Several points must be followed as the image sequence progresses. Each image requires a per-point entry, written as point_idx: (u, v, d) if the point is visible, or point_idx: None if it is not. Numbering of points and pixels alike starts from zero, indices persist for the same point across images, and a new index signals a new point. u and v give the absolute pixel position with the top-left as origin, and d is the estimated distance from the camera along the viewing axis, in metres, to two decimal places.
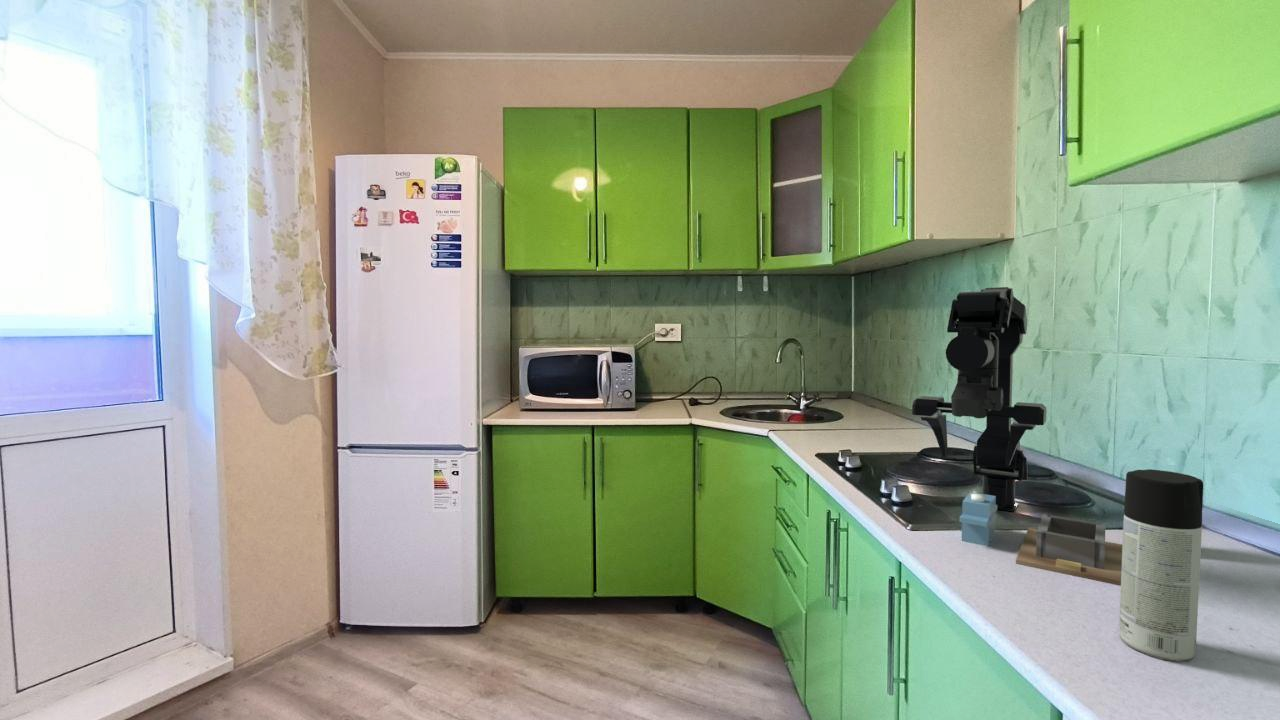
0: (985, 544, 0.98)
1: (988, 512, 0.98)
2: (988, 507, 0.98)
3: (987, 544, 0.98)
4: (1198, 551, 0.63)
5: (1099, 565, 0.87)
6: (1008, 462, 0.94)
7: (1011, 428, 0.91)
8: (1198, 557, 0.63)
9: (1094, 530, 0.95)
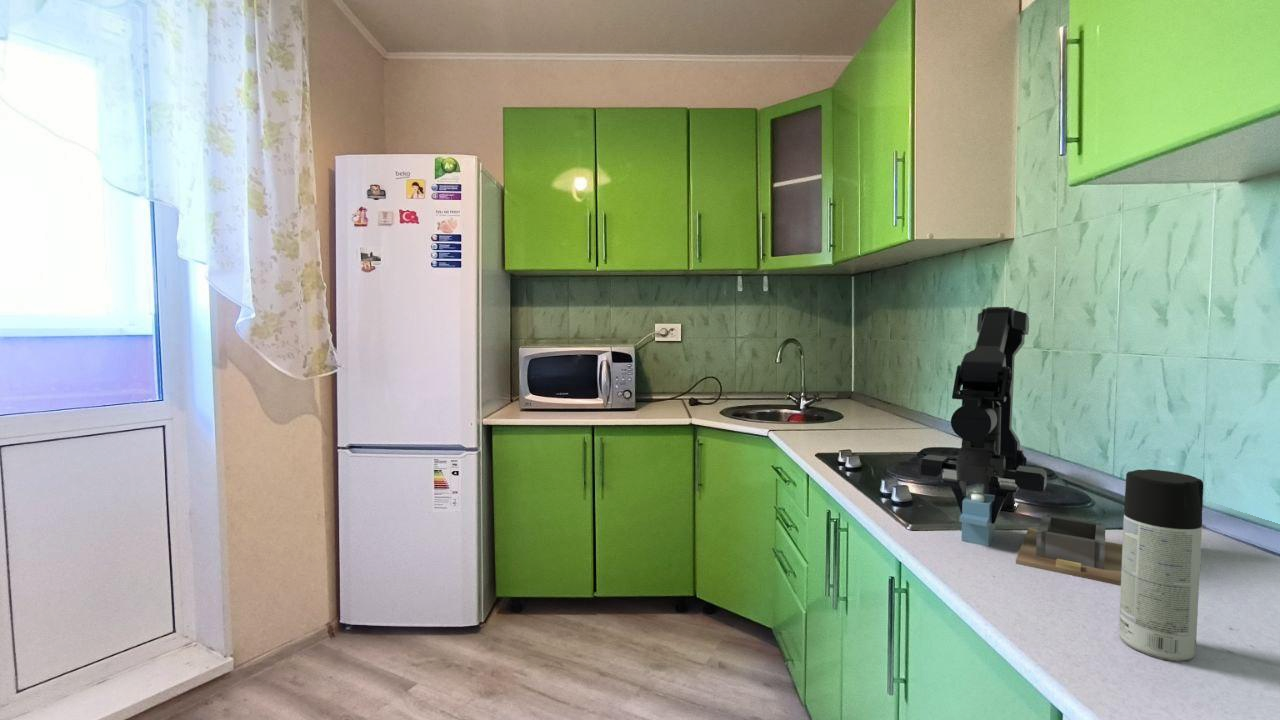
0: (985, 544, 0.98)
1: (988, 512, 0.98)
2: (988, 507, 0.98)
3: (987, 544, 0.98)
4: (1198, 551, 0.63)
5: (1099, 565, 0.87)
6: (993, 520, 1.00)
7: (996, 490, 0.97)
8: (1198, 557, 0.63)
9: (1094, 530, 0.95)
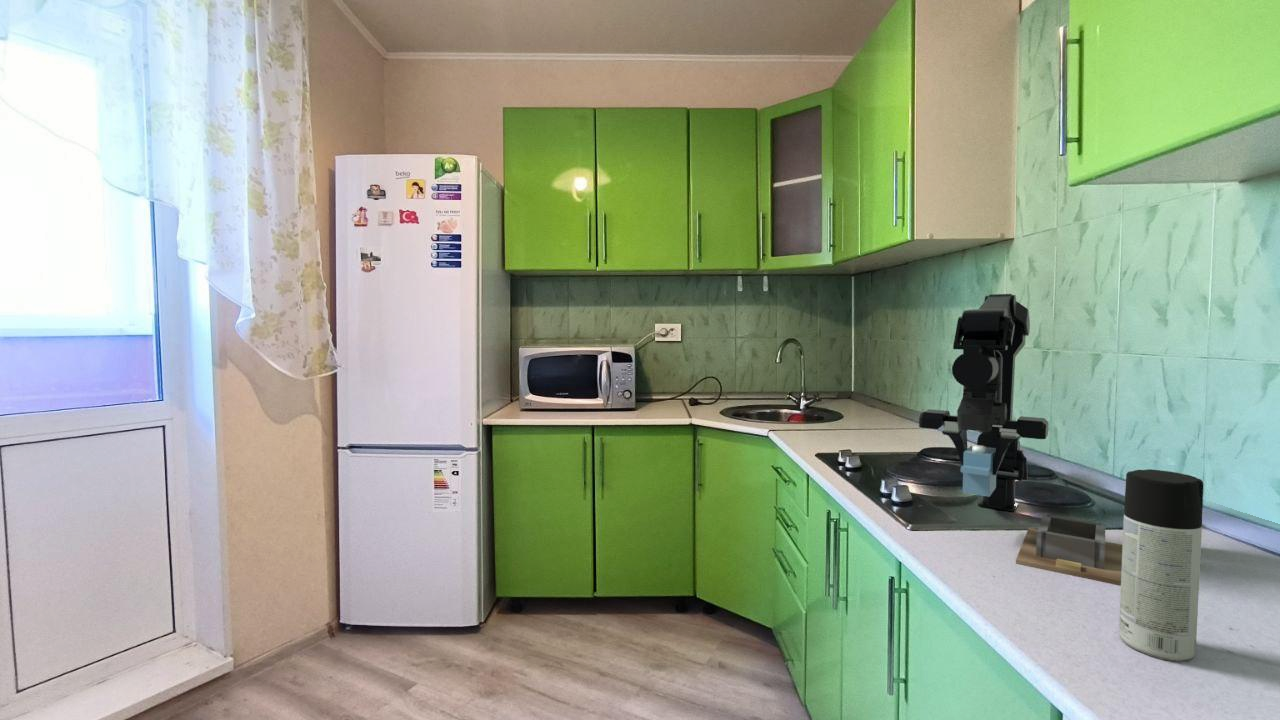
0: (986, 494, 0.97)
1: (989, 462, 0.97)
2: (989, 457, 0.97)
3: (988, 494, 0.97)
4: (1198, 551, 0.63)
5: (1099, 565, 0.87)
6: (995, 472, 0.99)
7: (997, 440, 0.97)
8: (1198, 557, 0.63)
9: (1094, 530, 0.95)
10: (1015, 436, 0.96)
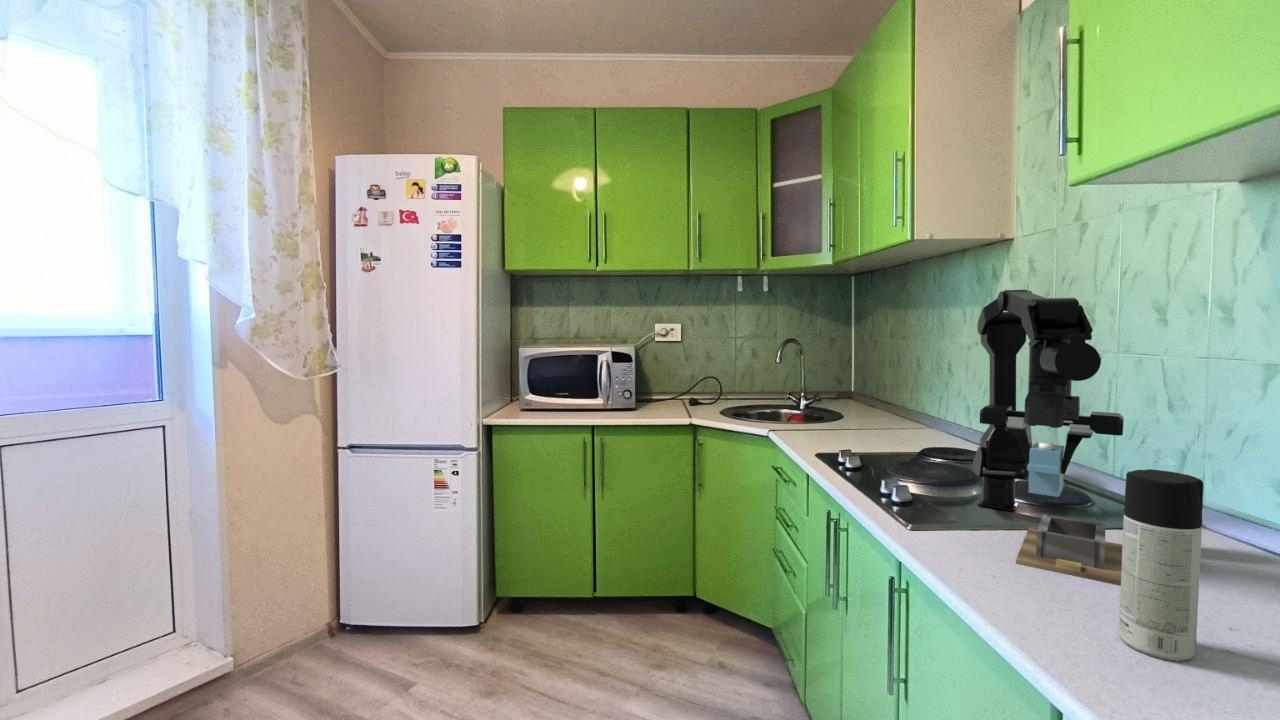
0: (1055, 494, 0.91)
1: (1059, 460, 0.91)
2: (1059, 454, 0.91)
3: (1057, 494, 0.91)
4: (1198, 551, 0.63)
5: (1099, 565, 0.87)
6: (1064, 470, 0.93)
7: (1068, 436, 0.91)
8: (1198, 557, 0.63)
9: (1094, 530, 0.95)
10: (1087, 432, 0.90)
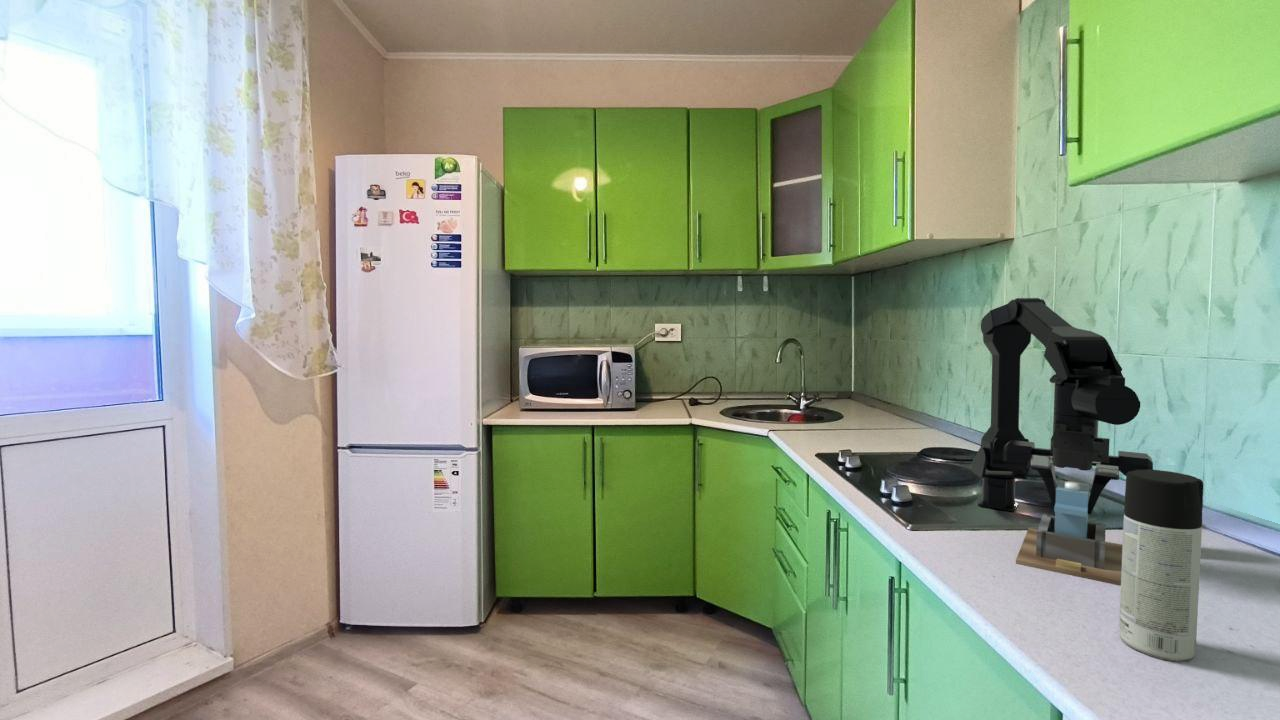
0: (1083, 536, 0.90)
1: (1086, 501, 0.89)
2: (1086, 496, 0.89)
3: (1085, 536, 0.90)
4: (1198, 551, 0.63)
5: (1099, 565, 0.87)
6: (1090, 511, 0.91)
7: (1095, 477, 0.89)
8: (1198, 557, 0.63)
9: (1094, 530, 0.95)
10: (1115, 473, 0.88)
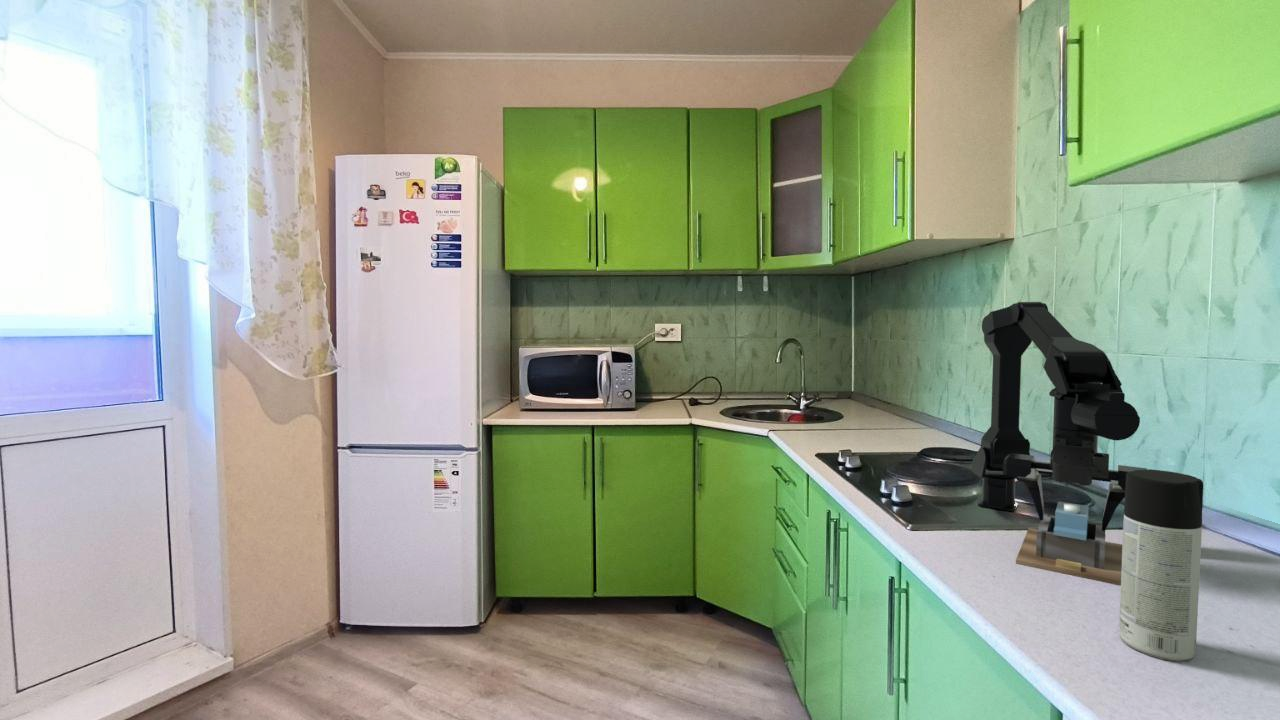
0: None
1: (1086, 524, 0.89)
2: (1086, 519, 0.89)
3: None
4: (1198, 551, 0.63)
5: (1099, 565, 0.87)
6: (1104, 527, 0.90)
7: (1110, 494, 0.88)
8: (1198, 557, 0.63)
9: (1094, 530, 0.95)
10: None
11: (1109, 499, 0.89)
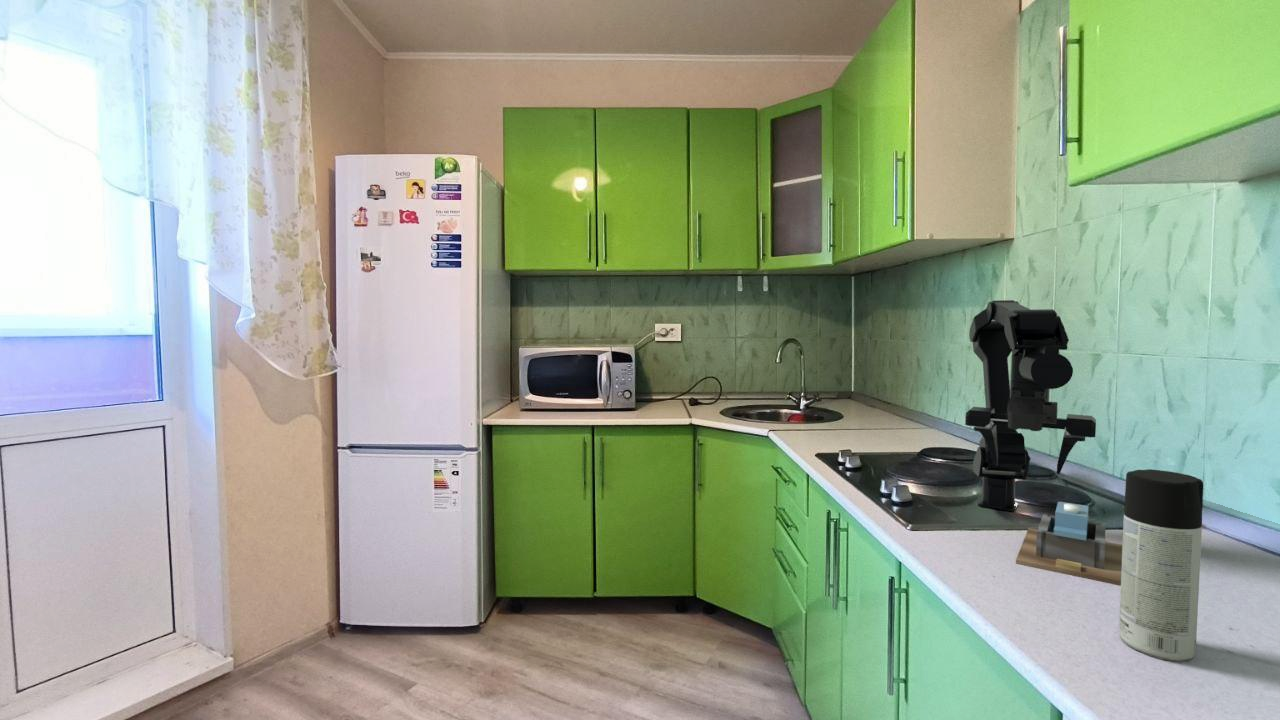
0: None
1: (1086, 524, 0.89)
2: (1086, 519, 0.89)
3: None
4: (1198, 551, 0.63)
5: (1099, 565, 0.87)
6: (1059, 471, 0.99)
7: (1063, 439, 0.97)
8: (1198, 557, 0.63)
9: (1094, 530, 0.95)
10: None
11: (1063, 444, 0.98)
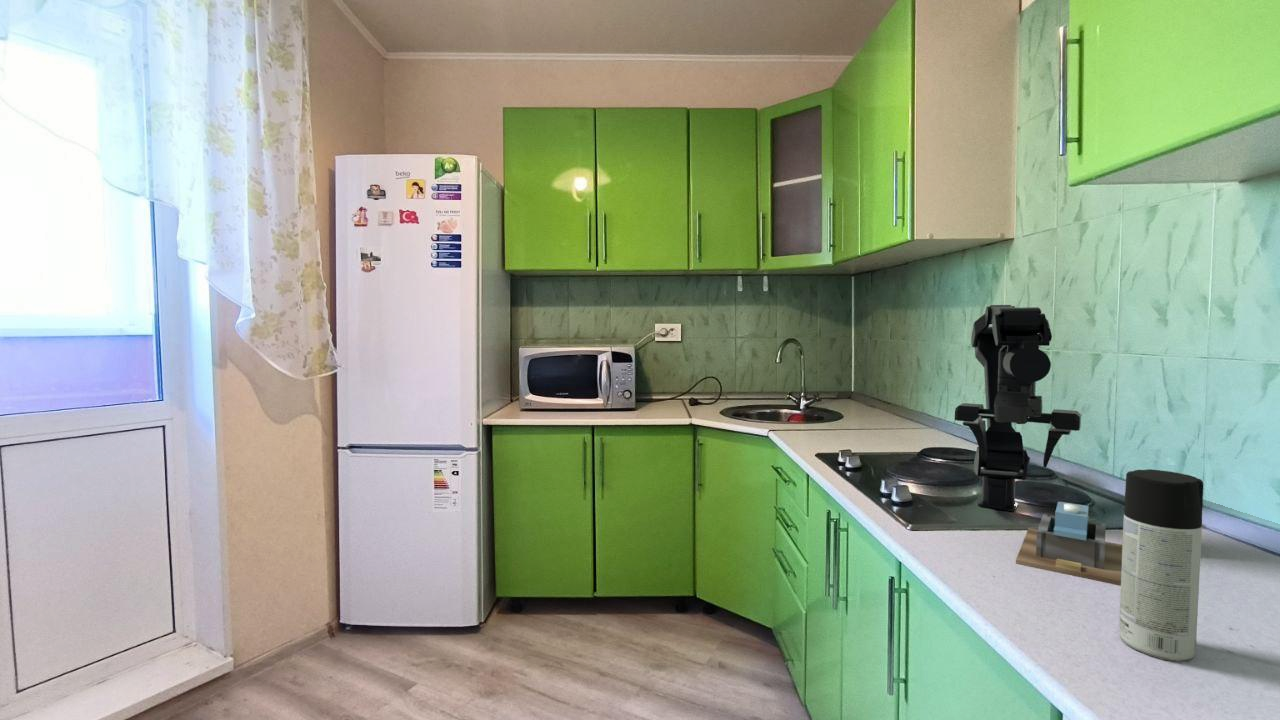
0: None
1: (1086, 524, 0.89)
2: (1086, 519, 0.89)
3: None
4: (1198, 551, 0.63)
5: (1099, 565, 0.87)
6: (1045, 464, 1.02)
7: (1049, 433, 1.00)
8: (1198, 557, 0.63)
9: (1094, 530, 0.95)
10: (1066, 429, 0.99)
11: (1049, 438, 1.01)
